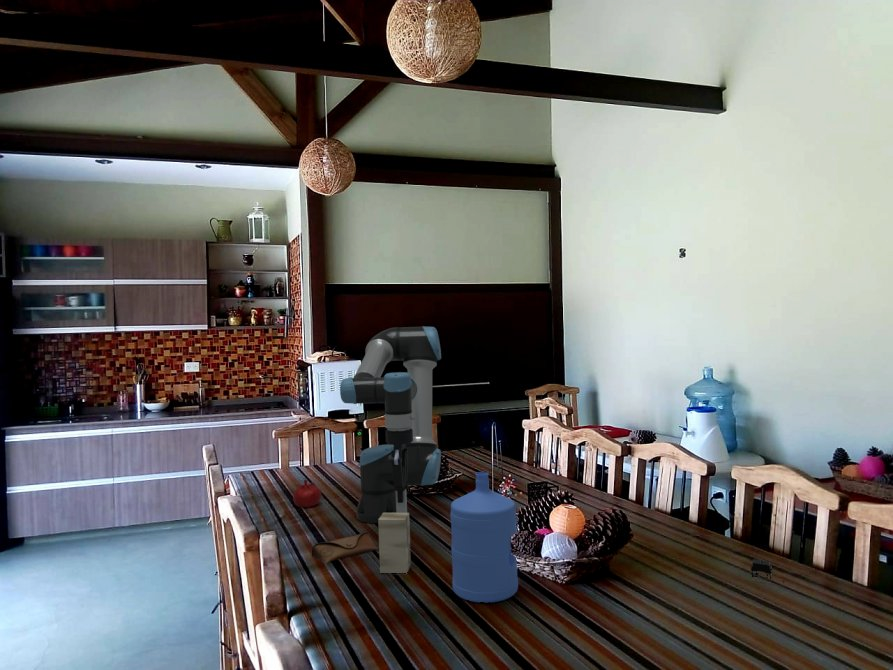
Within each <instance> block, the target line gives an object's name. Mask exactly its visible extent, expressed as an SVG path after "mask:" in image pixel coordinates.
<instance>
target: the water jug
mask: <svg viewBox="0 0 893 670" xmlns="http://www.w3.org/2000/svg"><path fill="white" fill-rule="evenodd" d="M489 475H490V474H489V471H488V472H487V471H478V472H475V478H476V479H475V489H474V490H473V491H470V492H468V493H467V494H465V495H462V496H461V497H458V498H456V499H454V500H453V501H452V502H451V504H450V525H451V526H450V527H451V549H450V551H451V559H452V560H451V561H452V580H451V581H452V583H451V584H452V590H453V592H454V593H455V595H457V596H458V597H459V598H461V599H463V600H466V601H468V600H469V601H470V602H473V603H480V602H484V604H486V603H487V604H488V603H489V602H490V603H497V602H502V601H505V600H507V599H510V598H511V597H513V596H514V595H516V593H517V592H518V589H519V579H518V564H517V563H518V561H517V558H516V556H515V554H513V553H512V548H511V547H512V544H511V540H512V539H511V537H512V536H514V535H515V534H516V532H517V510H516V503H515V501H514V500H512V499H511V498H510V497H508V496H505V495H503V494H500V493H498V492H495V491H493V490H491V489H490V485H489V484H490V479H489Z"/></svg>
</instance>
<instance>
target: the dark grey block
mask: <svg viewBox="0 0 893 670" xmlns="http://www.w3.org/2000/svg"><path fill="white" fill-rule="evenodd" d="M761 561H762V562H761ZM750 571H751V573H752V577H760V575H761V574H762V573H764V574H766V575H767V576H768V575H770V579H771V575H773V574H772V573H773V568H772V565H771V561H770V560H761V559H755V558H754V559H753V560H752V563H751V566H750ZM758 572H761V573H758ZM759 574H760V575H759ZM764 576H765V575H764ZM766 578H768V577H766Z"/></svg>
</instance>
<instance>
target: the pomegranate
mask: <svg viewBox="0 0 893 670" xmlns="http://www.w3.org/2000/svg"><path fill="white" fill-rule="evenodd" d="M303 483H304V484H297V485H296V487H297V488H296V490H295V492H294V494H293V497H292V499H293V503H294V505H295V506H296V507H298V508H300V507H308V508H312V507H314V506H316V505H318V504H319V502H321V499H322V491H321V489H320V487H318V486H317V485H318V483H314V482H312V481H311V482H310V483H309V484H308V479H304V480H303ZM311 506H312V507H311Z"/></svg>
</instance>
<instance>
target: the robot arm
mask: <svg viewBox="0 0 893 670" xmlns="http://www.w3.org/2000/svg"><path fill="white" fill-rule="evenodd" d="M438 333H439V332H438V330H437V328H436V327H434V326H424V325H422V326H408V327H407V326H406V327H404V326H403V327H402V326H401V327H400V326H399V327H390V328H387V329H385V330H382V331H381V332H378V334H376V335H374V336H373V337H372V338H371V339H370V340H369V341H368V343H367V345H366V347H365V351H364V352H365V355H364V357H363V358H362V360H361V362H360V364H359V367H358V368H357V370H356V373H355V374H354V375H353V377H347V378H343V379H342V380H341V382H340V384H339V385H340V387H339V388H340V389H339V394H340V399H341V402H343V403H344V404H351V405H352V404H354V405H358V404H384V425H385V426H384V427H385V428H386V430H385V442H386V444H380V445H375V446H371V447H368V448H365V449H363V450H362V451H361V453H360V455H359V474H360V475H359V476H360V497H359V500H358V504H357V508H356V512H355V513H356V519H357V521H359V522H362V523H366V524H368V523H369V524H378V519H379V518H380V517H381V515H382V514H383V513H408V504H407V489H410V486H432V485H434V484H436V483H437V482H438V479H439V475H440V470H441V463H442V460H441V459H442V458H441V457H442V451H441V449H439V448H437V442H435V440H433V369H434V368H436V367H437V365H438V364H437V362H438V361H440V360H441V359H442V353H441V352H442V349H441V344H440V337H439V334H438ZM393 361H403V362H402V363H403V366H404V367H405V368H406V369H407V371H406V372H403V371H402V372H401V371H398V372H388V373H386V374H385V375H384V376H382V374H383V372H384V371H385V368H386V366H387V364H388V363H390V362H393ZM381 376H382V377H381Z"/></svg>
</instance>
